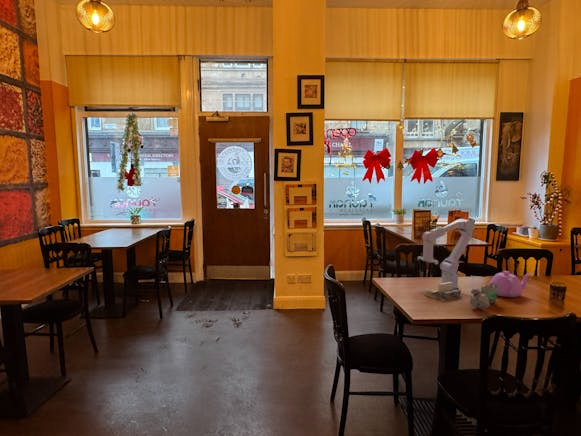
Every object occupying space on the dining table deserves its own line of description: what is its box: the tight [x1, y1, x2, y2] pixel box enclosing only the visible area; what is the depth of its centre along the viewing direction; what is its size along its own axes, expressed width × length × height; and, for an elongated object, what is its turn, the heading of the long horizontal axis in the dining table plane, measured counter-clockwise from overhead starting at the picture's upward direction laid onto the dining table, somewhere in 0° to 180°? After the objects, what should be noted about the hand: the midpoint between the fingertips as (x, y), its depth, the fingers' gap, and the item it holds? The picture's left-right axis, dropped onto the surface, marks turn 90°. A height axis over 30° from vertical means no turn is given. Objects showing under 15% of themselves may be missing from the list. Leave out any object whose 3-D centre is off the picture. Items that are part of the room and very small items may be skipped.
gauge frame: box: [424, 288, 462, 302], centre depth 220 cm, size 16×14×4 cm
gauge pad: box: [433, 282, 453, 294], centre depth 218 cm, size 14×2×7 cm, turn 117°
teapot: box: [488, 270, 532, 298], centre depth 223 cm, size 22×22×14 cm
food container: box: [480, 283, 499, 306], centre depth 207 cm, size 12×6×10 cm, turn 129°
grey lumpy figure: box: [469, 288, 491, 310], centre depth 196 cm, size 10×10×12 cm
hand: (427, 273), depth 233 cm, fingers open, 7 cm apart
